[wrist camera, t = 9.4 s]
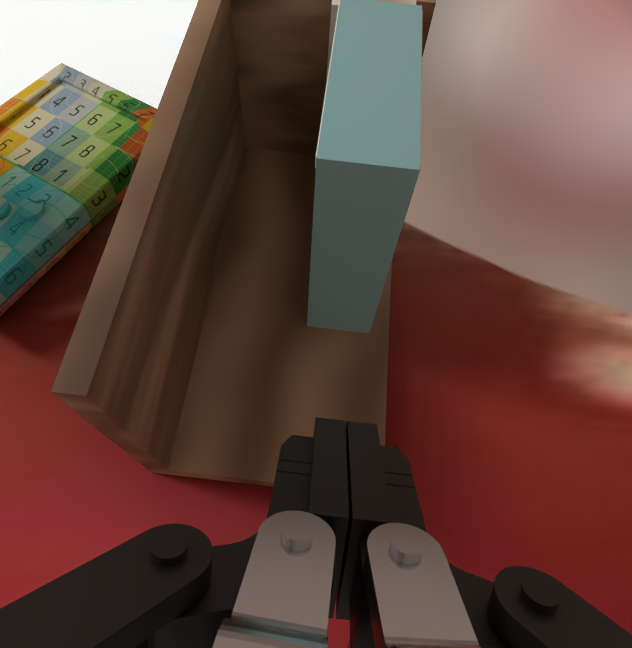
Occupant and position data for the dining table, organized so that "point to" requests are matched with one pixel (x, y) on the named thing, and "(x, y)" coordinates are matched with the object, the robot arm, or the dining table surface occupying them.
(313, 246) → the rectangular block
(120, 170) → the puzzle game
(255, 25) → the open wooden box
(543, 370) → the dining table surface
